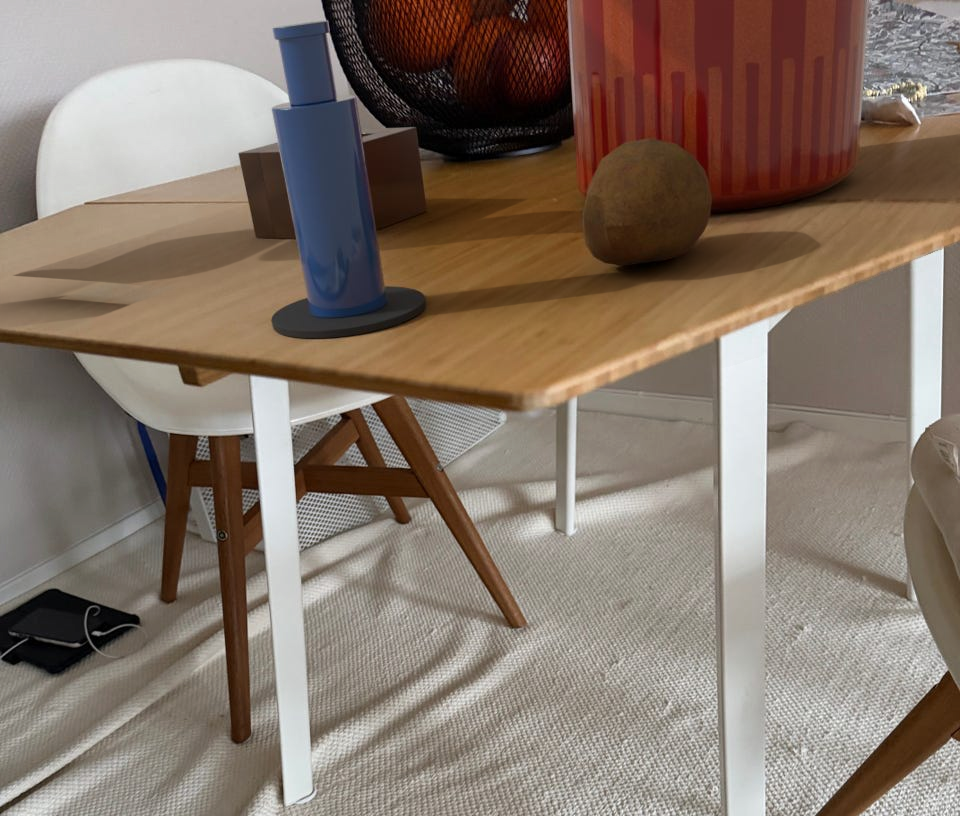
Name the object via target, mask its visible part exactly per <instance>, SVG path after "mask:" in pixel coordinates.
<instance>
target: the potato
mask: <svg viewBox="0 0 960 816" xmlns="http://www.w3.org/2000/svg"><path fill="white" fill-rule="evenodd" d="M711 202H712V197H711V192H710V187H709V182H708V178H707V176H706V172H705V170H704V169H703V167H702V166H701V165H700V163H699V162H698V161H697V159H696V158H695V157H694V156H693V155H692V154H690V153H688V152H687V151H685V150H684V149H683V148H681V147H680V146H678V145H677V144H674V143H670V142H665V141H661V140H656V139H652V138H649V139H643V140H637V141H631V142H626V143H624V144H622V145H621V146H619V147H618V148H617V149H615V150H614V151H612V152H611V153H609V154H608V155H607V156H605V157H604V158H602V160H601V162H600V164H599V166H598V168H597V170H596V172H595V174H594V176H593V178H592V180H591V182H590V184H589V186H588V191H587V196H586V197H585V201H584V207H583V210H582V234H583V239H584V242H585V246H586V247H587V249H588V250H589V252H590V254H591V255H592V257H593V258H595V259H597V260H599V261H600V262H602V263H604V264H607V265H609V264H610V265H614V266H623V265H624V266H627V265H628V266H629V265H638V264H645V263H652V262H653V263H654V262H662V261H667V260H673V259H676V258H678V257H680V256H682V255H683V254H684V253H686V252H688V250H690V249H691V248H693V247H694V246H695V245H696V243H697V242H698V241H699V239H700V238H701V237H702V235H703V233H705V231H706V228H707V226H708V222H709V221H710V217H711V213H710V211H711Z"/></svg>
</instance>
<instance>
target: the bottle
mask: <svg viewBox="0 0 960 816" xmlns="http://www.w3.org/2000/svg"><path fill="white" fill-rule="evenodd" d="M329 23H330V22H329V20H328V19H327V20H316V21H309V22H301V23H292V24H286V25H285V24H284V25H280V26H279V25H278V26H273V27H272V28H271V29H272V35H273V39H274V40H275V41H277V43H278V48H279V54H280V58H281V64H282V69H283V75H284V81H285V86H286V92H287V96H288V102H283V103H280V104H276V105H275V106H272V107H271V114H272V120H273V124H274V129H275V136H276V140H277V143H278V146H279V151H280V157H281V162H282V167H283V172H284V178H285V183H286V188H287V193H288V199H289V204H290V209H291V214H292V220H293V225H294V230H295V235H296V239H295V240H296V241H295V242H296V245H297V250H298V255H299V261H300V267H301V271H302V277H303V282H304V287H305V293H306V298H308V303H309V309H310V313H311V314H312V315H313V316H316V317H321V318H343V317H351V316H357V315H362V314H366V313H369V312H372V311H375V310H377V309H379V308H381V307H383V306H384V305H385V304H386V303H387V297H386V290H385V286H386V285H385V278H384V272H383V265H382V259H381V252H380V246H379V239H378V233H377V230H376V225H375V219H374V212H373V206H372V199H371V193H370V186H369V180H368V173H367V167H366V160H365V154H364V147H363V140H362V134H361V129H362V127H361V120H360V114H359V109H358V102H357V97H356V96H355V95H351V94H348V95H347V94H346V95H345V94H344V95H343V94H342V95H338V94H337V89H336V84H335V76H334V70H333V64H332V58H331V54H330V53H331V52H330V46H329V40H328V34H329V33H330V32H331V30H330V25H329Z"/></svg>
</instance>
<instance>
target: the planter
mask: <svg viewBox="0 0 960 816" xmlns="http://www.w3.org/2000/svg"><path fill="white" fill-rule="evenodd" d="M869 3H870V0H566V12H567V13H566V14H567V32H568V49H569V50H568V51H569V67H570V86H571V101H572V102H571V103H572V119H573V134H574V135H573V136H574V151H575V153H574V154H575V168H576V184H577V189H578V191H579V193H580V194H582V195H583V196H584V198H586V196H587V191H588V186H589V184H590V182H591V180H592V178H593V176H594V174H595V172H596V170H597V168H598V166H599V164H600V162H601V160H602V158H604V157H605V156H607V155H608V154H609V153H611V152H612V151H614V150H615V149H617V148H618V147H619V146H621V145H622V144H624V143H626V142H631V141H637V140H643V139H649V138H652V139H656V140H661V141H665V142H670V143H674V144H677V145H678V146H680V147H681V148H683V149H684V150H685V151H687V152H688V153H690V154H692V155H693V156H694V157H695V158H696V159H697V161H698V162H699V163H700V165H701V166H702V167H703V169H704V170H705V172H706V176H707V178H708V182H709V187H710V192H711V197H712V202H711V211H710V214H714V213H715V214H716V213H725V212H736V211H744V210H751V209H758V208H764V207H769V206H776V205H781V204H785V203H790V202H794V201H798V200H801V199H806V198H809V197H811V196H814V195H817V194H820V193H822V192H824V191H827V190H828V189H831V188H832V187H834V186H836V185H837V184H839V183H840V182H842V181H843V180H845V179H846V178H847V177H848V176H849V175H851V174H852V173H853V171H854V170H855V169H856V167H857V166H858V162H859V155H860V154H859V153H860V140H861V139H860V138H861V125H862V112H863V111H862V109H863V95H864V94H863V93H864V81H865V80H864V79H865V63H866V49H867V48H866V47H867V33H868V16H869Z"/></svg>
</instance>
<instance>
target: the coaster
mask: <svg viewBox="0 0 960 816" xmlns="http://www.w3.org/2000/svg"><path fill="white" fill-rule="evenodd" d="M385 290H386V297H387V303H386V304H385V305H384V306H383V307H381V308H379V309H377V310H375V311H372V312H369V313H366V314H362V315H357V316H351V317H343V318H321V317H316V316H313V315H312V314H311V313H310V309H309V303H308V298H307V297H305V298H302V299H300V300H296V301H294V302H292V303H289V304H287V305H285V306H283V307H281V308H280V309H278V310H276V312H274V314H273V315H272V316H271V319H270V320H271V325H272V328H273V330H274V331H275V332H276V333H278V334H280V335H283V336H286V337H291V338H296V339H297V338H298V339H333V338H343V337H350V336H357V335H362V334H368V333H373V332H377V331H381V330H384V329H388V328H391V327H394V326H397V325H400V324H403V323H405V322H408V321H410V320H412V319H413V318H412V317H414V318H416V317H417V316H418V315H417V314H419V313H420V314H422V313H423V312H424V311H425V309H426V308H425V307H427V300H426V296H425V295H424V293H423V292H421V291H419V290H417V289H414V288H410V287H405V286H390V285H389V286H388V285H385ZM424 308H425V309H424ZM423 310H424V311H423ZM420 314H419V315H420ZM416 315H417V316H416ZM415 316H416V317H415ZM411 318H412V319H411ZM409 319H410V320H409ZM407 320H408V321H407ZM404 321H405V322H404ZM402 322H403V323H402Z"/></svg>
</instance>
